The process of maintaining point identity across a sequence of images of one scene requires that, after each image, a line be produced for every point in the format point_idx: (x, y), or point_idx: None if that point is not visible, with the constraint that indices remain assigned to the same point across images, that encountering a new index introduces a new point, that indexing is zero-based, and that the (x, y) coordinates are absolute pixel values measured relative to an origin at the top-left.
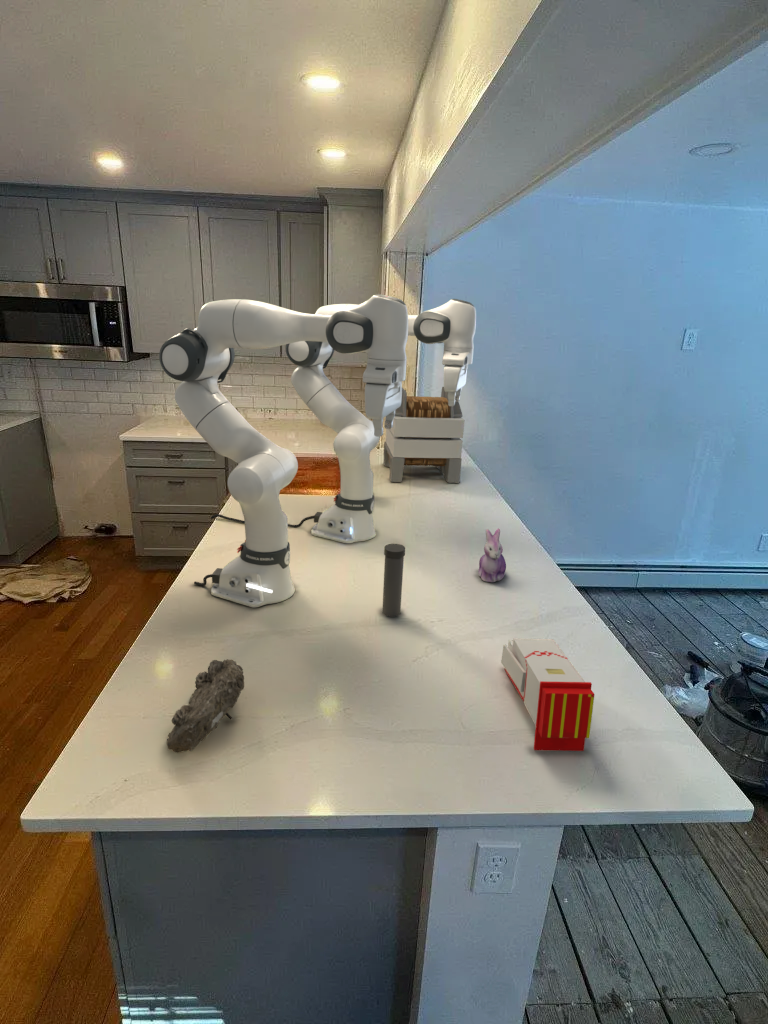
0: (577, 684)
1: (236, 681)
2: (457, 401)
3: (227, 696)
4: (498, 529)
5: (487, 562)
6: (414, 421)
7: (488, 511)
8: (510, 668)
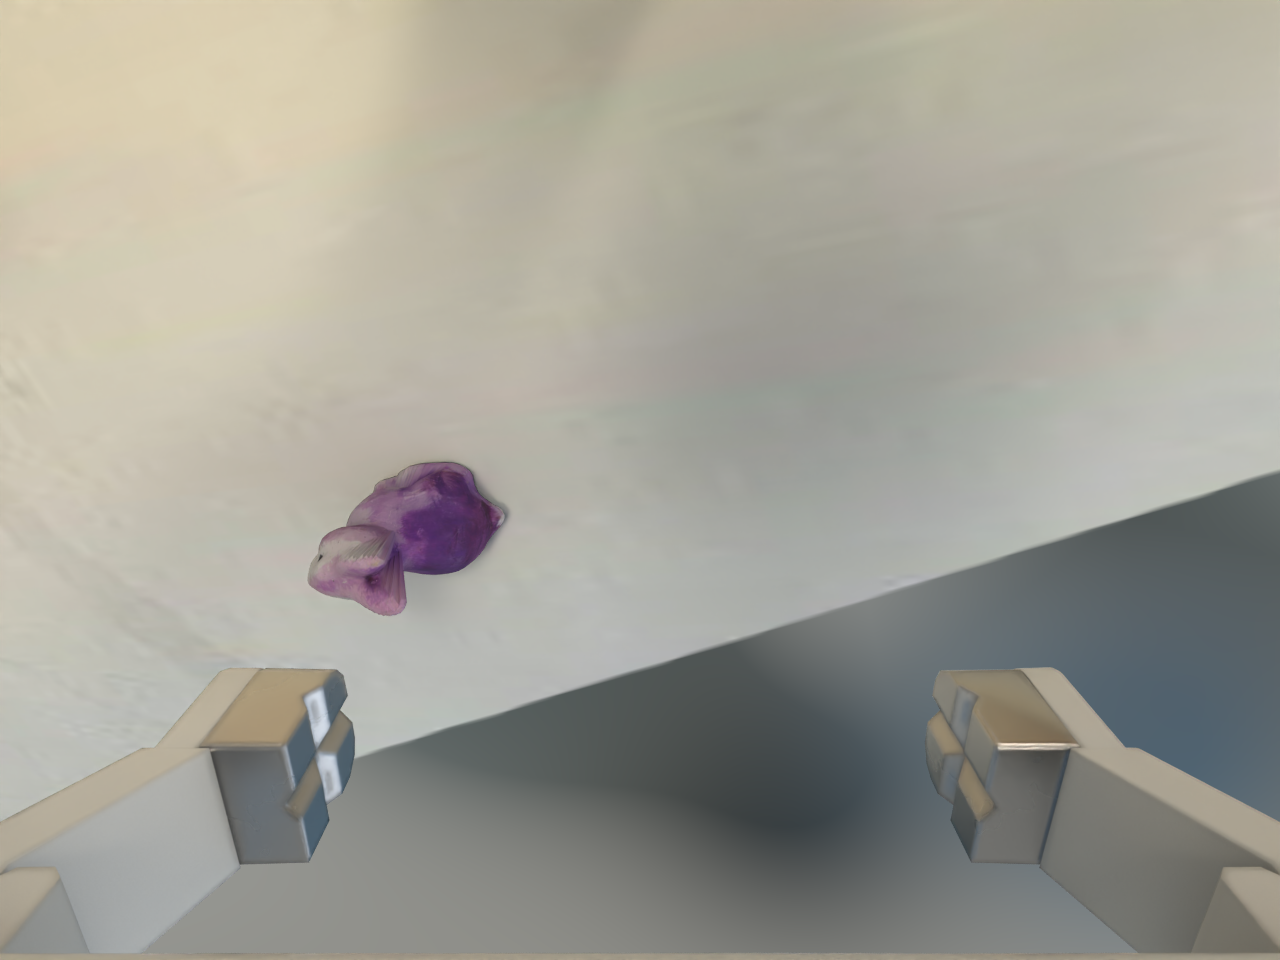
0: None
1: None
2: (925, 740)
3: None
4: (383, 610)
5: (346, 526)
6: None
7: (1189, 422)
8: None
